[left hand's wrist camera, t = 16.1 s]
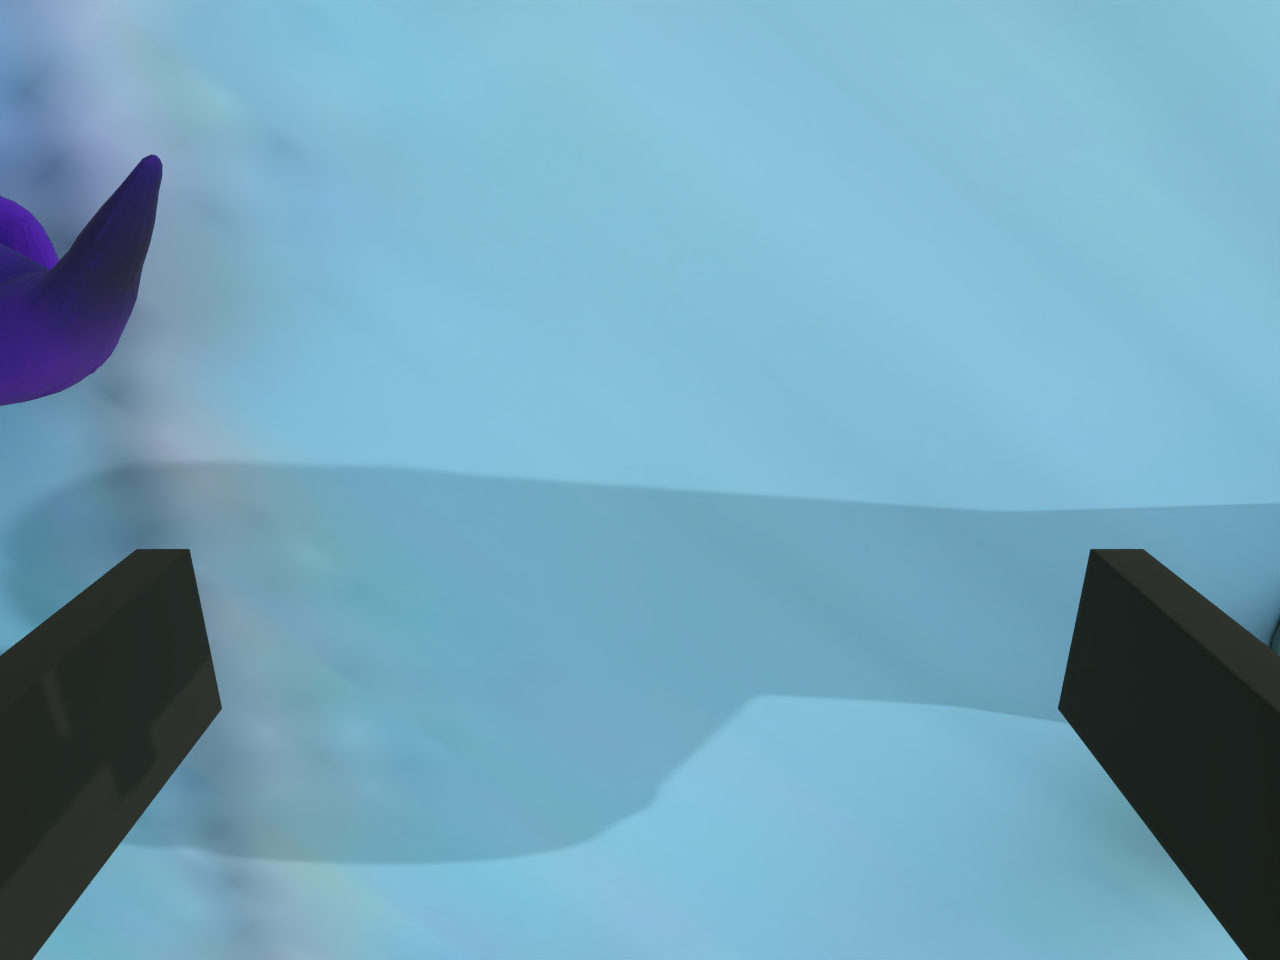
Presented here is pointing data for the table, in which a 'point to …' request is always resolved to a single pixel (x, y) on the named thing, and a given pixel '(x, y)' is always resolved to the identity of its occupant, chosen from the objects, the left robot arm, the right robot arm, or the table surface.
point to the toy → (71, 289)
